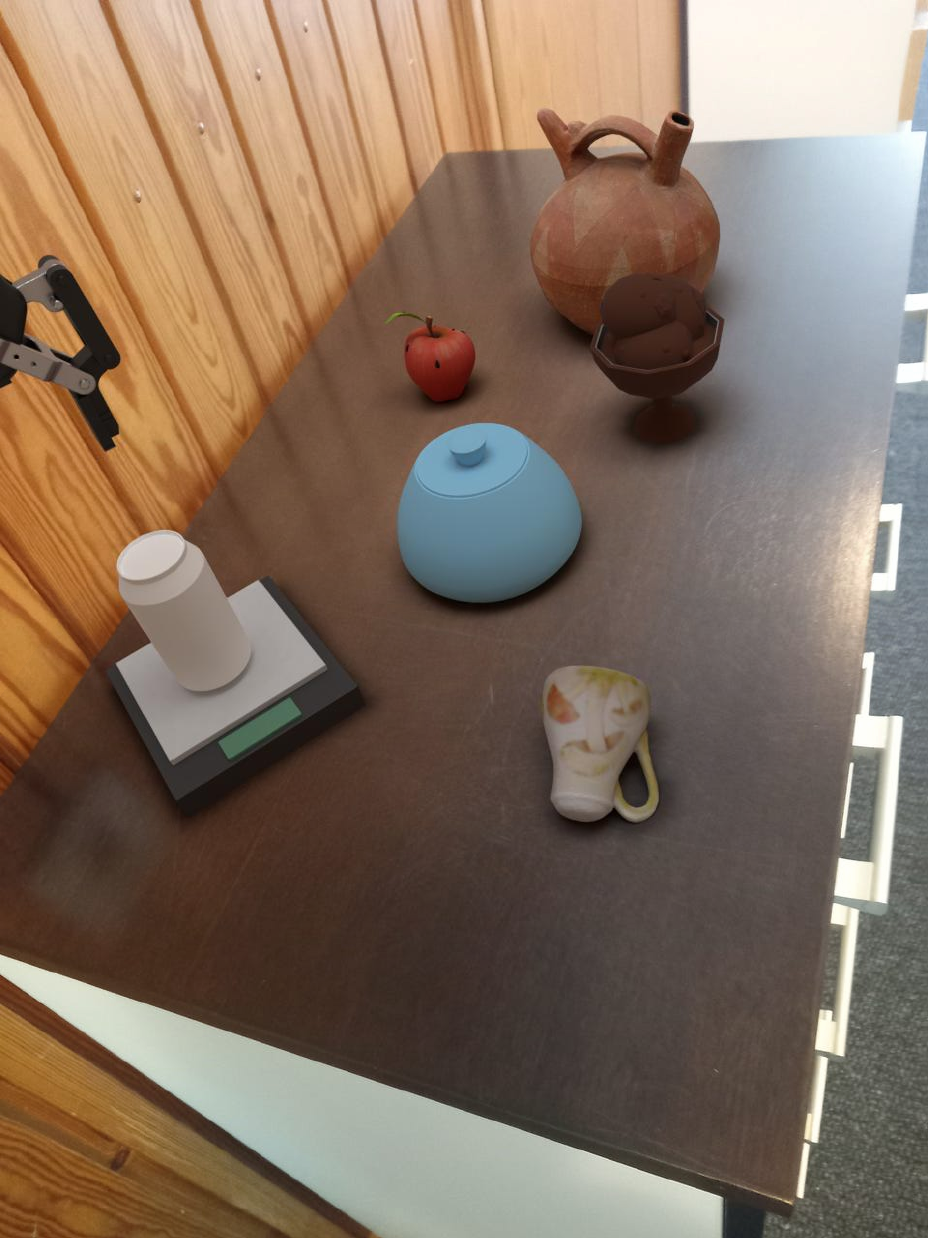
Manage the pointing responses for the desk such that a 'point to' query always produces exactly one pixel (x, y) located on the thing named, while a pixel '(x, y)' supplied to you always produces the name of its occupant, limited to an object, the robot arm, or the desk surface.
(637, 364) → the ice cream bowl
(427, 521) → the sugar bowl
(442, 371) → the apple
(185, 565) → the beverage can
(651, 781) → the mug
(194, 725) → the scale
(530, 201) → the desk surface
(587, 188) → the jug
